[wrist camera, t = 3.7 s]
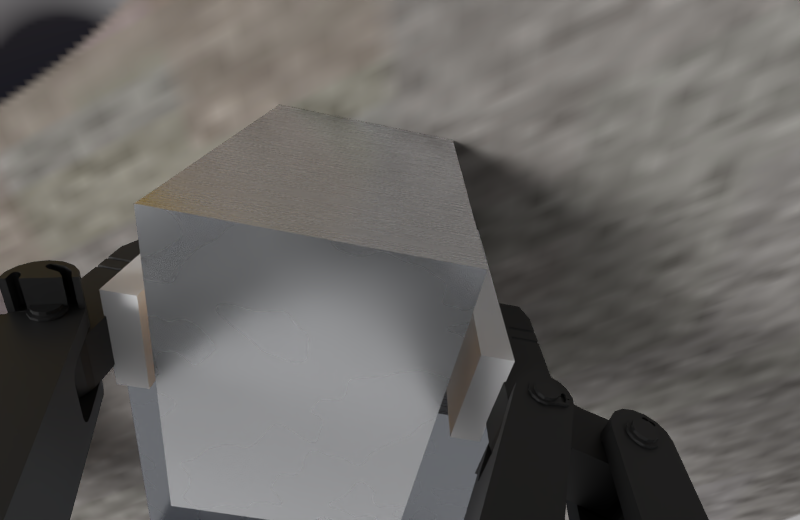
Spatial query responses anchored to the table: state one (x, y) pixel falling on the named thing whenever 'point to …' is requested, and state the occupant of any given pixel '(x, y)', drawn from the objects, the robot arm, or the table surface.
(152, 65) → the table surface
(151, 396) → the lip
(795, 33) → the table surface
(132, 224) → the table surface
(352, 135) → the block
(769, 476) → the table surface
